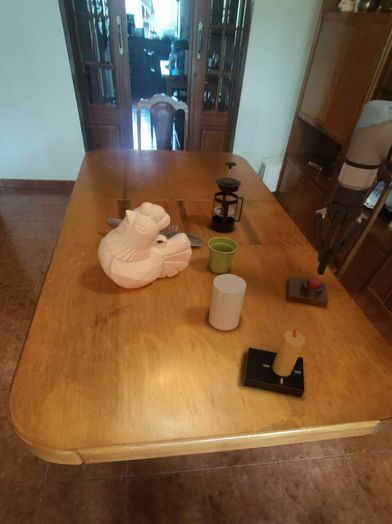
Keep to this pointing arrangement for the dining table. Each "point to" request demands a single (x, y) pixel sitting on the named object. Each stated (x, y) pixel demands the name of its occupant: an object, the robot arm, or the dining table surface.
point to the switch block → (306, 292)
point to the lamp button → (314, 282)
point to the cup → (226, 301)
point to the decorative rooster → (143, 248)
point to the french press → (226, 204)
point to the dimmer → (272, 374)
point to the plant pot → (221, 253)
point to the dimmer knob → (288, 353)
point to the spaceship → (192, 238)
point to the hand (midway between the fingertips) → (320, 272)
